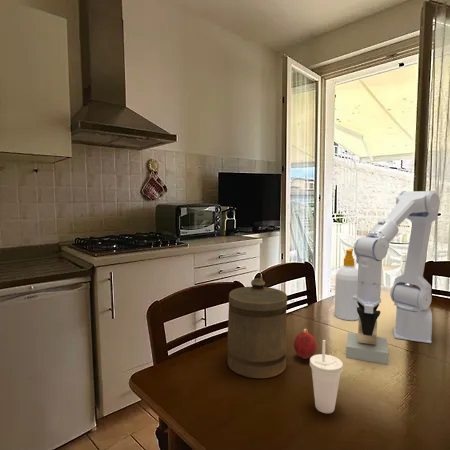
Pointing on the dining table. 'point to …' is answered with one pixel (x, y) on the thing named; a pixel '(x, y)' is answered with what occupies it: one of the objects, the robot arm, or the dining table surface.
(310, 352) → the onion
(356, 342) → the base
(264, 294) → the wooden container
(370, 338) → the block
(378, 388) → the dining table surface
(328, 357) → the smoothie
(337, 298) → the soap bottle
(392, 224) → the robot arm
